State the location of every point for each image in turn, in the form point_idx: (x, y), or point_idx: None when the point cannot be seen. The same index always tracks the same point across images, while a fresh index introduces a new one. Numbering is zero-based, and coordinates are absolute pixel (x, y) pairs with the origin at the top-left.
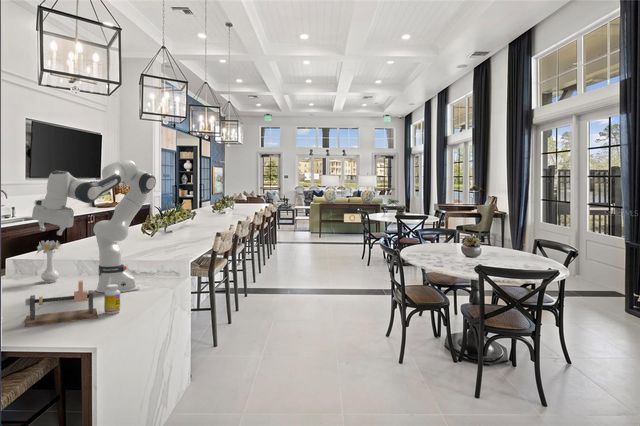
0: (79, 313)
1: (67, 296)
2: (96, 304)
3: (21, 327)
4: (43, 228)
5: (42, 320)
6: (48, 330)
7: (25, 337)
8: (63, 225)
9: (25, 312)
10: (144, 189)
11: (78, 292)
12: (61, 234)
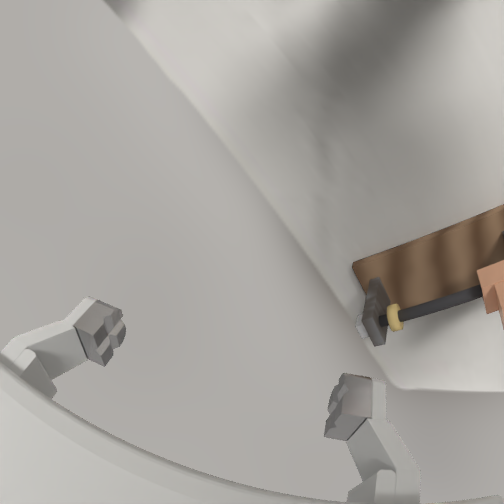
0: (484, 255)
1: (464, 300)
2: (488, 112)
3: None
4: (109, 350)
5: (410, 305)
6: (438, 337)
7: (408, 364)
8: None
9: (311, 201)
10: None
11: (496, 301)
12: (381, 387)
